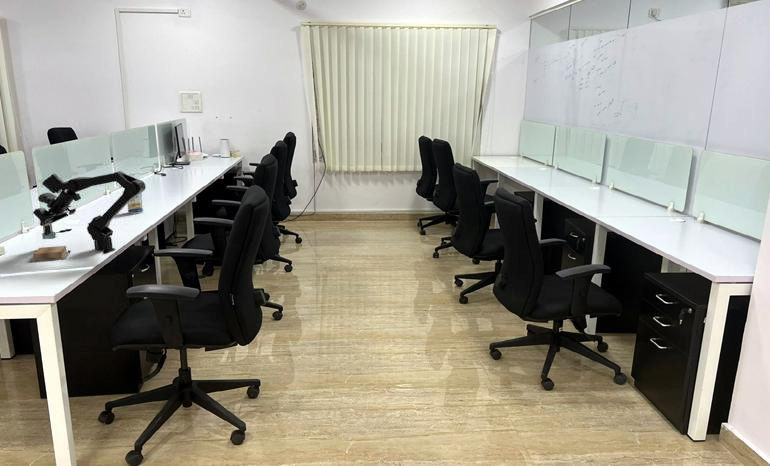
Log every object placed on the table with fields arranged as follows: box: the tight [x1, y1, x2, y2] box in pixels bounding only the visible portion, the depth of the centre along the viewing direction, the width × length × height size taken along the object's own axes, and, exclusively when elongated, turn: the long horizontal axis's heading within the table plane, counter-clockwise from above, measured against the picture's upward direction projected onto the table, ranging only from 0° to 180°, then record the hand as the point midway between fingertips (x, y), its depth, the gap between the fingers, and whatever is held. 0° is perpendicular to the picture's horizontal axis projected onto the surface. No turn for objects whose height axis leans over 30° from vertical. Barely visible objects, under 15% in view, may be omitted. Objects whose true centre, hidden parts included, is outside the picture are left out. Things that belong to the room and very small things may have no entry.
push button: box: [41, 218, 57, 240], centre depth 244 cm, size 7×5×10 cm
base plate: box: [29, 249, 72, 263], centre depth 233 cm, size 13×13×2 cm
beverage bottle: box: [126, 178, 144, 215], centre depth 322 cm, size 8×8×20 cm
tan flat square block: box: [33, 245, 68, 261], centre depth 232 cm, size 10×10×3 cm
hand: (45, 223), depth 243 cm, fingers closed on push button, 5 cm apart
